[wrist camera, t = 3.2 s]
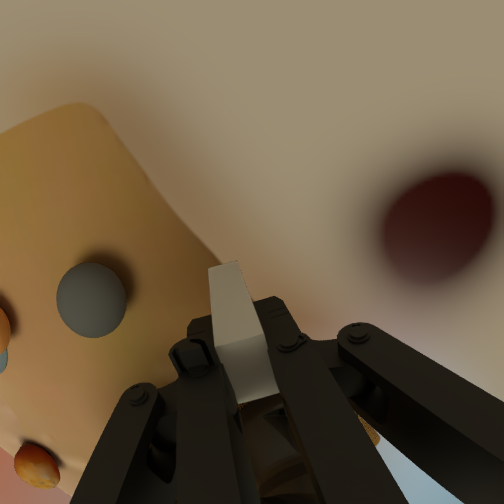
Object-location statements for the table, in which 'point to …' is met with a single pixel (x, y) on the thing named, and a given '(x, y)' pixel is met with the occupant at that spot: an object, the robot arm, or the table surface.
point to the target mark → (3, 360)
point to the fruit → (36, 467)
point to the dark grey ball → (91, 300)
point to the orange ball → (4, 331)
